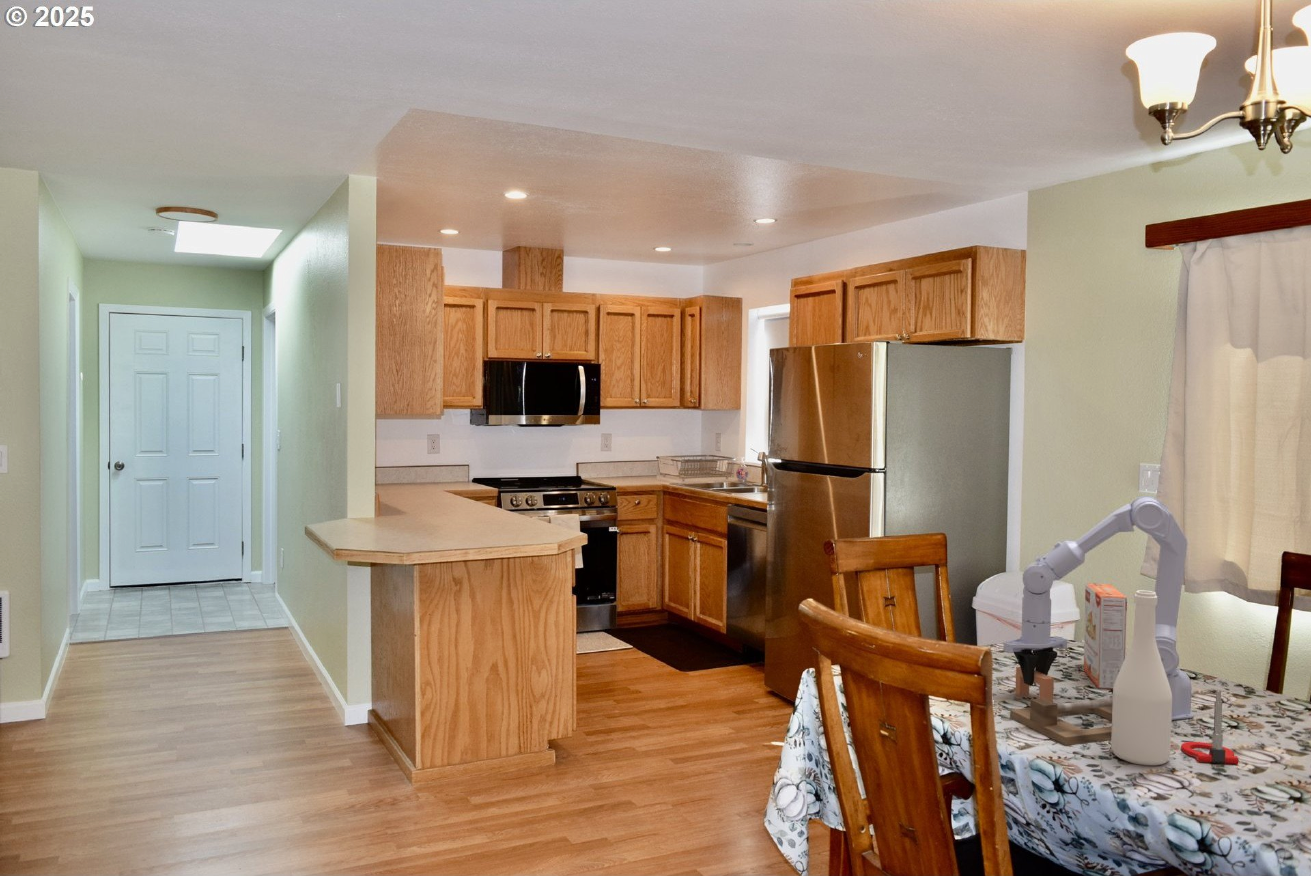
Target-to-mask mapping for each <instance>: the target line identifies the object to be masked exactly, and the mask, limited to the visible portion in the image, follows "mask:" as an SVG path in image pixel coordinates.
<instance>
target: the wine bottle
mask: <svg viewBox="0 0 1311 876" xmlns="http://www.w3.org/2000/svg"><path fill="white" fill-rule="evenodd" d="M1133 597H1134V598H1133V599H1134V600H1133V602H1134V604H1135V610H1134V627H1133V628H1134V629H1133V635H1132V636H1133V637H1132V640H1131V643H1130V646H1129V648H1128V650H1127V653H1126V654H1125V660H1124V662H1123V665H1122V667H1121V669H1120V671H1119V674H1118V676H1117V678H1116V681H1115V684H1114V687H1113V689H1112V698H1113V707H1112V721H1111V726H1112V736H1111V740H1110V741H1111V742H1110V747H1111V751H1112V753H1113V754H1114V755H1115V757H1118V758H1119V759H1121V760H1123V761H1125V762H1128V763H1133V764H1137V765H1142V766H1159V765H1163V764H1166V763H1167V762H1168V761H1169V760H1170V757H1171V743H1172V742H1171V741H1172V740H1171V739H1172V720H1171V719H1172V693H1171V689H1170V685H1169V682H1168V679H1167V676H1166V673H1165V670H1164V667H1163V664H1162V660H1161V657H1160V654H1159V651H1158V648H1157V644H1156V639H1155V606H1156V605H1157V596H1156V593H1155V592H1154V591H1152V590H1148V589H1147V590H1146V589H1145V590H1143V589H1138V590H1136V591H1135V594H1134V596H1133Z"/></svg>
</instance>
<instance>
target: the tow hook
mask: <svg viewBox="0 0 1311 876" xmlns="http://www.w3.org/2000/svg"><path fill="white" fill-rule="evenodd" d="M1213 715H1214V716H1213V717H1214V718H1213V733H1212V737H1211V738H1212V743H1209V742H1202V741H1187V742H1184V743H1181V745H1180V750H1181V751H1182V752H1183V753H1184V754H1186V755H1188V756H1192V757H1194V758H1195V759H1196V760H1195V761H1196V762H1197V763H1198V762H1200V763H1210V764H1220V765H1221V764H1222V765H1223V764H1231V765H1239V757H1238V756H1237V755H1235V752H1234V751H1233V750H1231V749H1229V748H1227V747H1225V746H1223V737H1224V736H1223V733H1222V732H1223V731H1222V729H1223V728H1222V726H1223V721H1222V720H1223V702H1222V690H1219V689H1216V690H1215V701H1214V713H1213ZM1195 749H1206V750H1208V751H1209V752H1208V753H1207V752H1201V751H1198V750H1195Z"/></svg>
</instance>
